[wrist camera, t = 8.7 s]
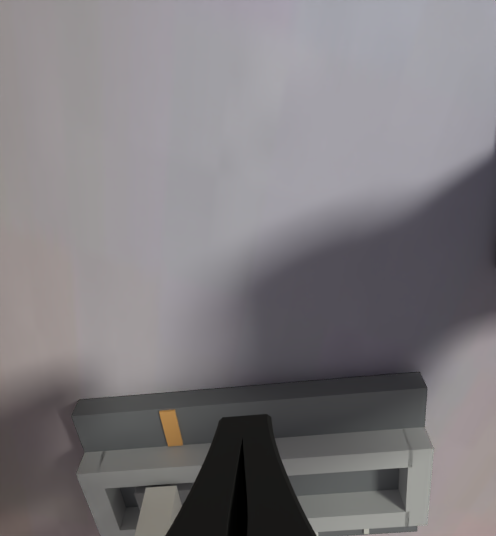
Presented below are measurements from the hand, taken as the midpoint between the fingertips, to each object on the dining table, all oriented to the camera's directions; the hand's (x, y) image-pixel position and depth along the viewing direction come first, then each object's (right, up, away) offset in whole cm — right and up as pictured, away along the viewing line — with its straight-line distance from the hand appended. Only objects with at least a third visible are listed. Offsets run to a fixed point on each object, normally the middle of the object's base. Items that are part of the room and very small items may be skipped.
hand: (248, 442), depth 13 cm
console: (0, -6, +14) cm, 16 cm away
